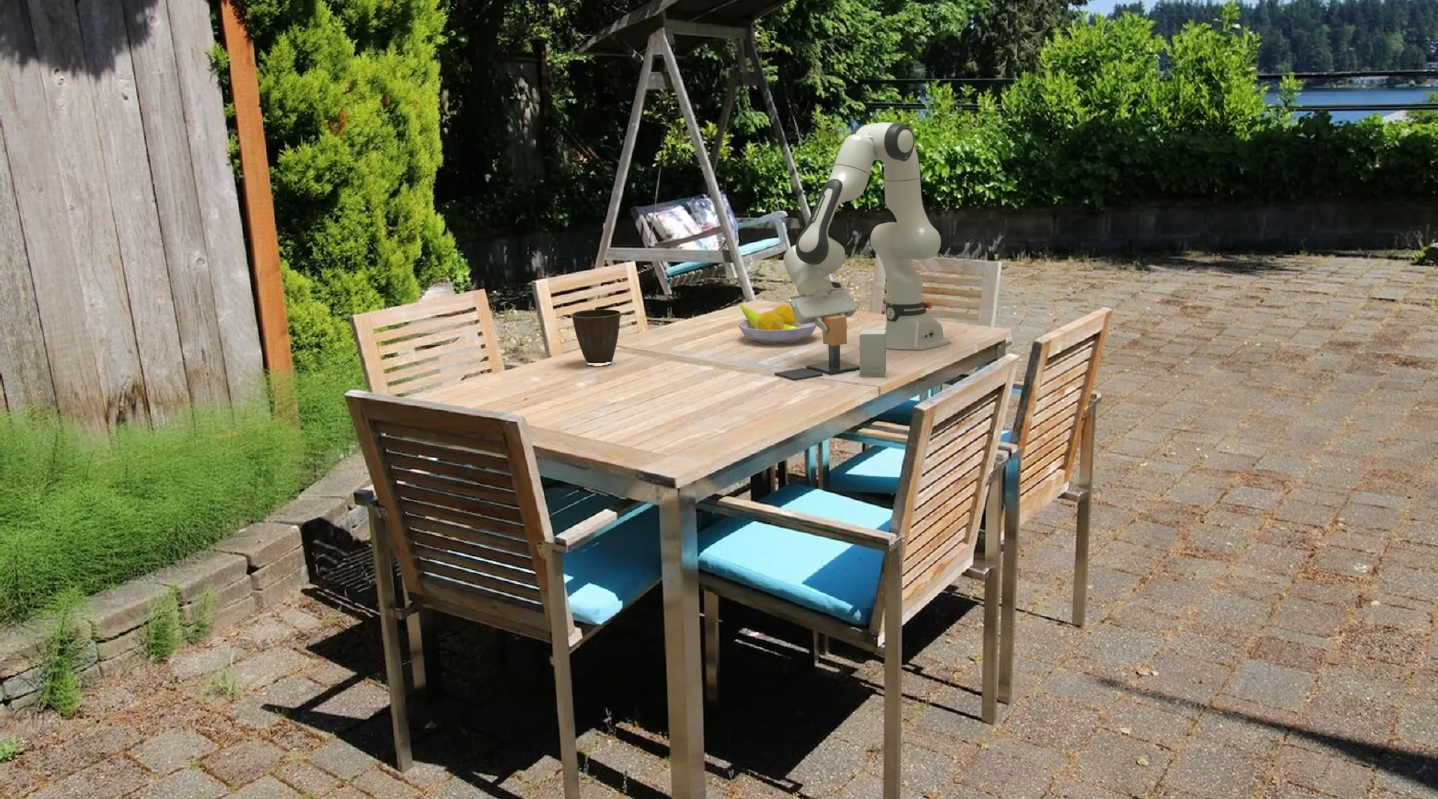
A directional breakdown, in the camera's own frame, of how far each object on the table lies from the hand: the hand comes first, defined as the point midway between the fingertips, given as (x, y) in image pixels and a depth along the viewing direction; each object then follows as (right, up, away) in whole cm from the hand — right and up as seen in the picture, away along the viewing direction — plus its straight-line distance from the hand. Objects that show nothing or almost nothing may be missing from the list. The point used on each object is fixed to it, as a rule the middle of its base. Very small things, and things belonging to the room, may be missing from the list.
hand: (836, 329), depth 353 cm
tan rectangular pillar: (0, -4, +2) cm, 4 cm away
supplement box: (+10, -13, -6) cm, 18 cm away
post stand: (0, -11, +3) cm, 12 cm away
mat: (-11, -13, -3) cm, 18 cm away
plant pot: (-71, -10, +21) cm, 75 cm away
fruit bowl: (-15, -1, +50) cm, 53 cm away
